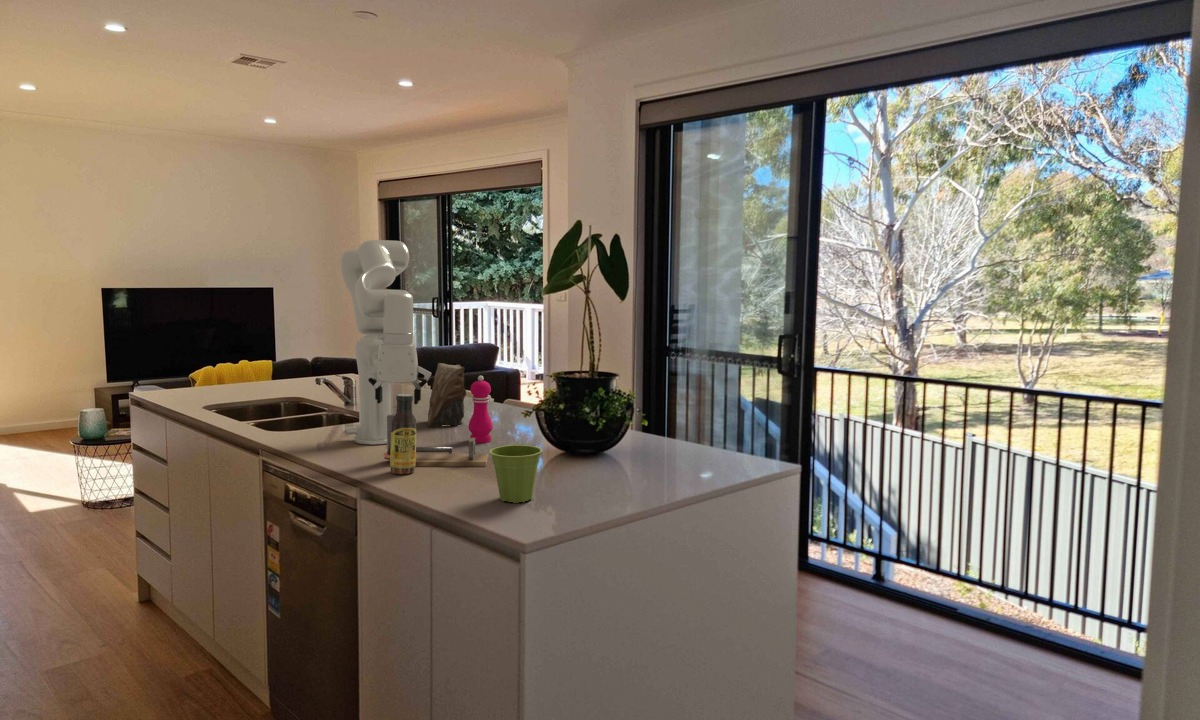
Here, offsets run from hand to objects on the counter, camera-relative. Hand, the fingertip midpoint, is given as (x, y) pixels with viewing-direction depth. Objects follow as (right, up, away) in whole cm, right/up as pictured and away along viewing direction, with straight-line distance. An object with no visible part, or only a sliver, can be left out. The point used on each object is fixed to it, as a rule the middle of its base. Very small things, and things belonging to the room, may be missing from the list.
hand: (398, 402), depth 209 cm
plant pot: (+35, -20, -33) cm, 52 cm away
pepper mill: (+18, -13, +28) cm, 36 cm away
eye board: (+13, -16, 0) cm, 20 cm away
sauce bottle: (+4, -17, -11) cm, 21 cm away
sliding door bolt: (+5, -14, 0) cm, 15 cm away
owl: (+1, -10, +54) cm, 55 cm away
